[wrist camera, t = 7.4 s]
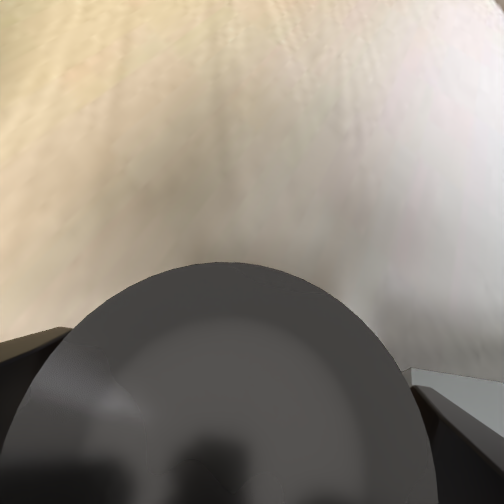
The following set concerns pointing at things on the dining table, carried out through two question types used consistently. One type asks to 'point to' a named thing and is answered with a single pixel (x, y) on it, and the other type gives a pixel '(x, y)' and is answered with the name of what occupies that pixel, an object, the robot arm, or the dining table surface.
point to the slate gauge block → (466, 394)
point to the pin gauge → (219, 402)
